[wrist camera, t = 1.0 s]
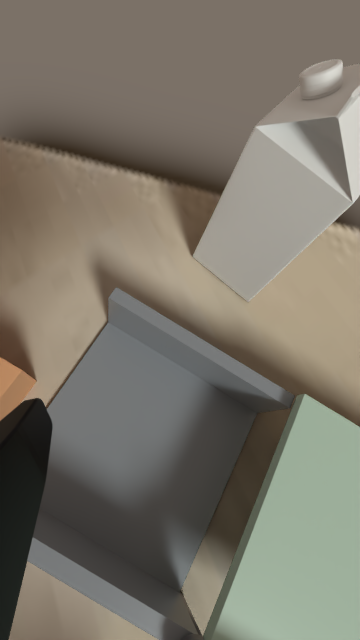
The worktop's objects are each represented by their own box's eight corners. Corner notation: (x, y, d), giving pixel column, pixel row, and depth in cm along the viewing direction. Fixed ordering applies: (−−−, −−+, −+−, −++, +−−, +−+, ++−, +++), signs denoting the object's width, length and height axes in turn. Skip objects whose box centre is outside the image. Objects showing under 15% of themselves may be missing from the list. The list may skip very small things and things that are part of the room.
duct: (177, 630, 23) (198, 691, 17) (-24, 510, 22) (-65, 534, 17) (269, 408, 29) (306, 402, 24) (114, 314, 29) (116, 287, 24)
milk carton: (283, 257, 35) (462, 77, 17) (247, 303, 32) (416, 144, 14) (230, 215, 35) (354, -4, 18) (191, 257, 32) (289, 48, 15)
